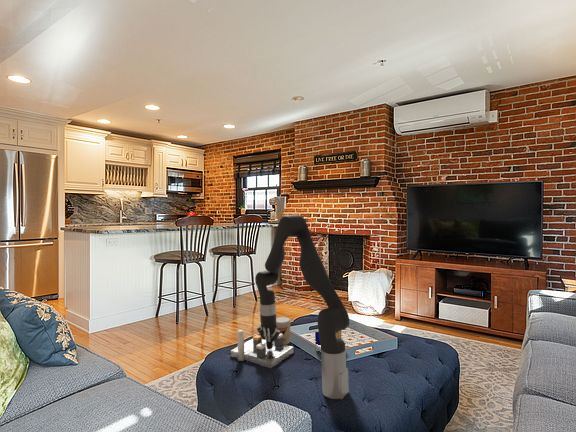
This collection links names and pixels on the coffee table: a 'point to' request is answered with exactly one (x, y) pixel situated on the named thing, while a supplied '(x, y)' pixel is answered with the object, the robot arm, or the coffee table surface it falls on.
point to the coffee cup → (284, 328)
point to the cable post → (240, 345)
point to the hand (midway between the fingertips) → (269, 348)
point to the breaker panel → (271, 356)
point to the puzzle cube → (338, 335)
